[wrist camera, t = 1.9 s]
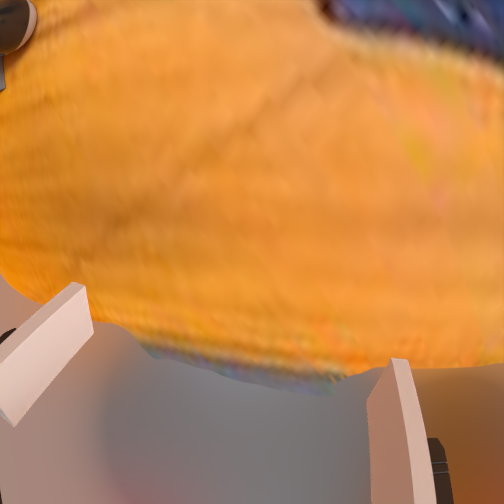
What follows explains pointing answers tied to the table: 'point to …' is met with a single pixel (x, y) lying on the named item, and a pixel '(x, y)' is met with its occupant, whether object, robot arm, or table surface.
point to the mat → (2, 75)
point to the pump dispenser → (15, 24)
